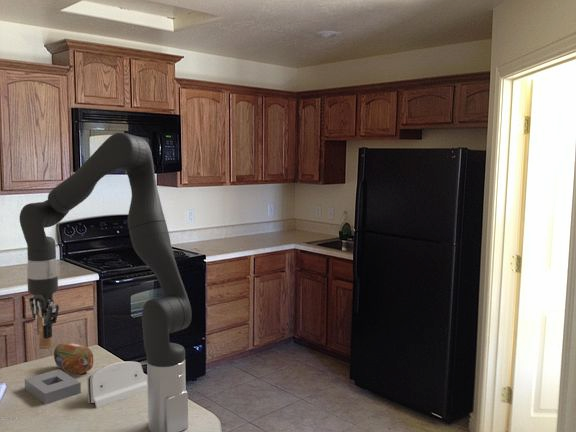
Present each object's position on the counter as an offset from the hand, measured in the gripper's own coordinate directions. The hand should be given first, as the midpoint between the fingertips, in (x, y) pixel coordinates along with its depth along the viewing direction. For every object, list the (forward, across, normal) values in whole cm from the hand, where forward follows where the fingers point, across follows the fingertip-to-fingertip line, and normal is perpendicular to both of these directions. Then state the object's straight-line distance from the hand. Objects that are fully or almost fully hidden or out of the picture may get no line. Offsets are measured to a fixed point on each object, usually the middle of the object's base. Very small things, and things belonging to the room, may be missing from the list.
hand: (44, 335), depth 147 cm
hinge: (+18, -13, -14) cm, 26 cm away
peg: (+3, 0, 0) cm, 3 cm away
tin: (+18, +12, -14) cm, 26 cm away
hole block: (+18, +3, -3) cm, 18 cm away
